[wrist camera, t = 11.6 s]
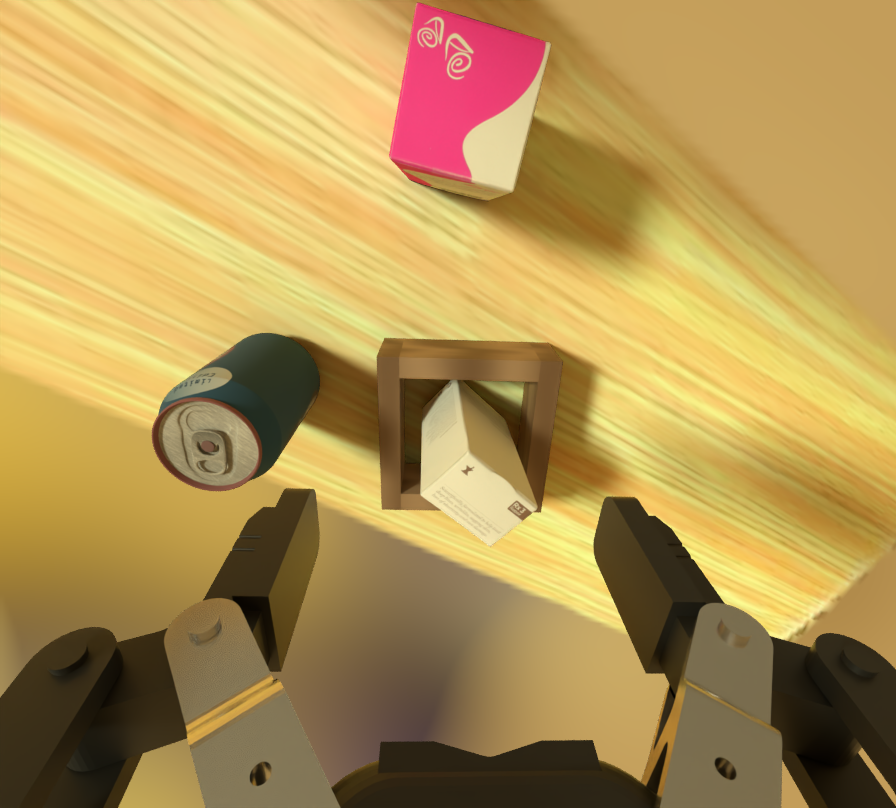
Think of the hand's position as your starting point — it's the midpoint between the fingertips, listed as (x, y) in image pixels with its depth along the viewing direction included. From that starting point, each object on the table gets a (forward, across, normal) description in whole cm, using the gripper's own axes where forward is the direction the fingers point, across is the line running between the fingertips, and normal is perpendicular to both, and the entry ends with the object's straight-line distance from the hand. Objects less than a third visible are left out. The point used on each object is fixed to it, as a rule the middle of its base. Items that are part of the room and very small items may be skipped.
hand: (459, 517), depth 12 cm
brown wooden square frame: (+23, -2, +8) cm, 24 cm away
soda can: (+24, +12, +5) cm, 27 cm away
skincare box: (+23, -2, +8) cm, 25 cm away
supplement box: (+24, -1, -11) cm, 26 cm away
